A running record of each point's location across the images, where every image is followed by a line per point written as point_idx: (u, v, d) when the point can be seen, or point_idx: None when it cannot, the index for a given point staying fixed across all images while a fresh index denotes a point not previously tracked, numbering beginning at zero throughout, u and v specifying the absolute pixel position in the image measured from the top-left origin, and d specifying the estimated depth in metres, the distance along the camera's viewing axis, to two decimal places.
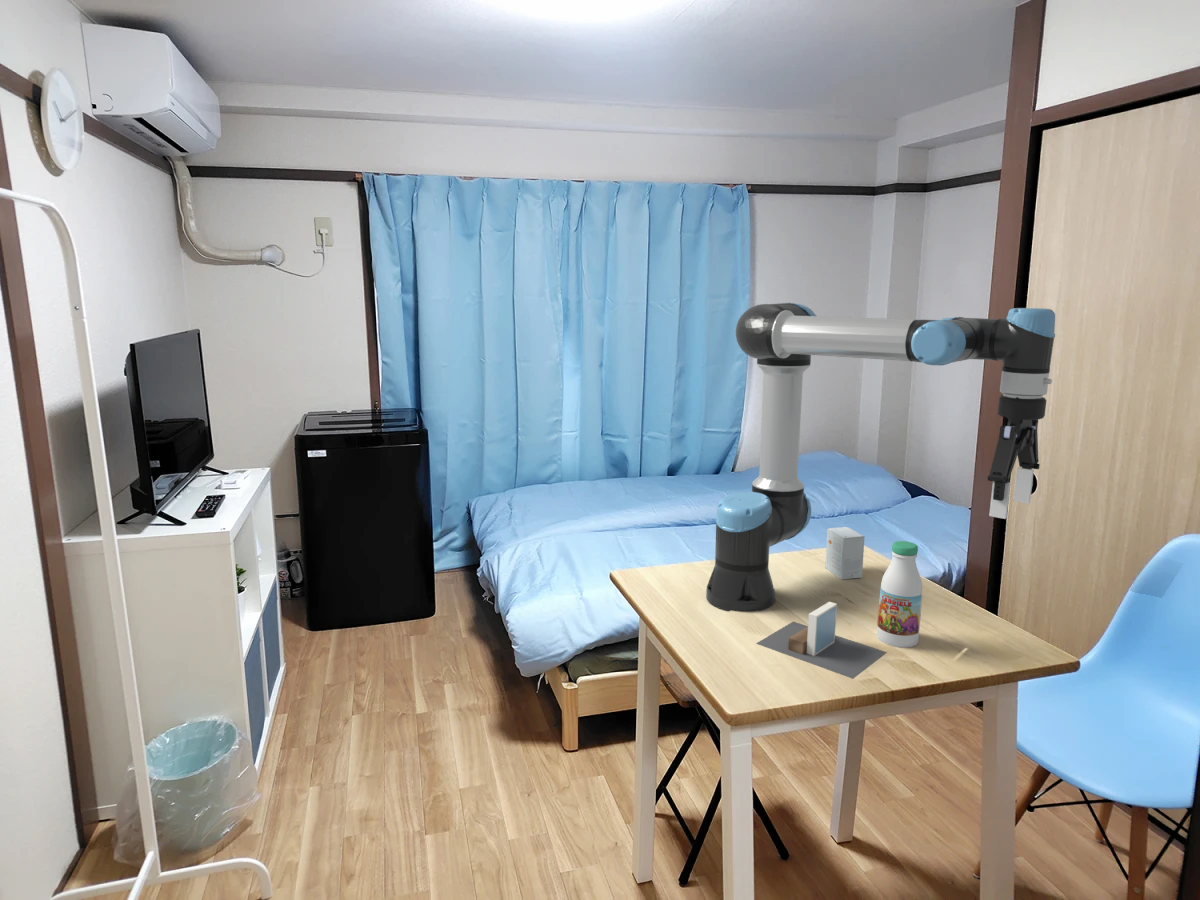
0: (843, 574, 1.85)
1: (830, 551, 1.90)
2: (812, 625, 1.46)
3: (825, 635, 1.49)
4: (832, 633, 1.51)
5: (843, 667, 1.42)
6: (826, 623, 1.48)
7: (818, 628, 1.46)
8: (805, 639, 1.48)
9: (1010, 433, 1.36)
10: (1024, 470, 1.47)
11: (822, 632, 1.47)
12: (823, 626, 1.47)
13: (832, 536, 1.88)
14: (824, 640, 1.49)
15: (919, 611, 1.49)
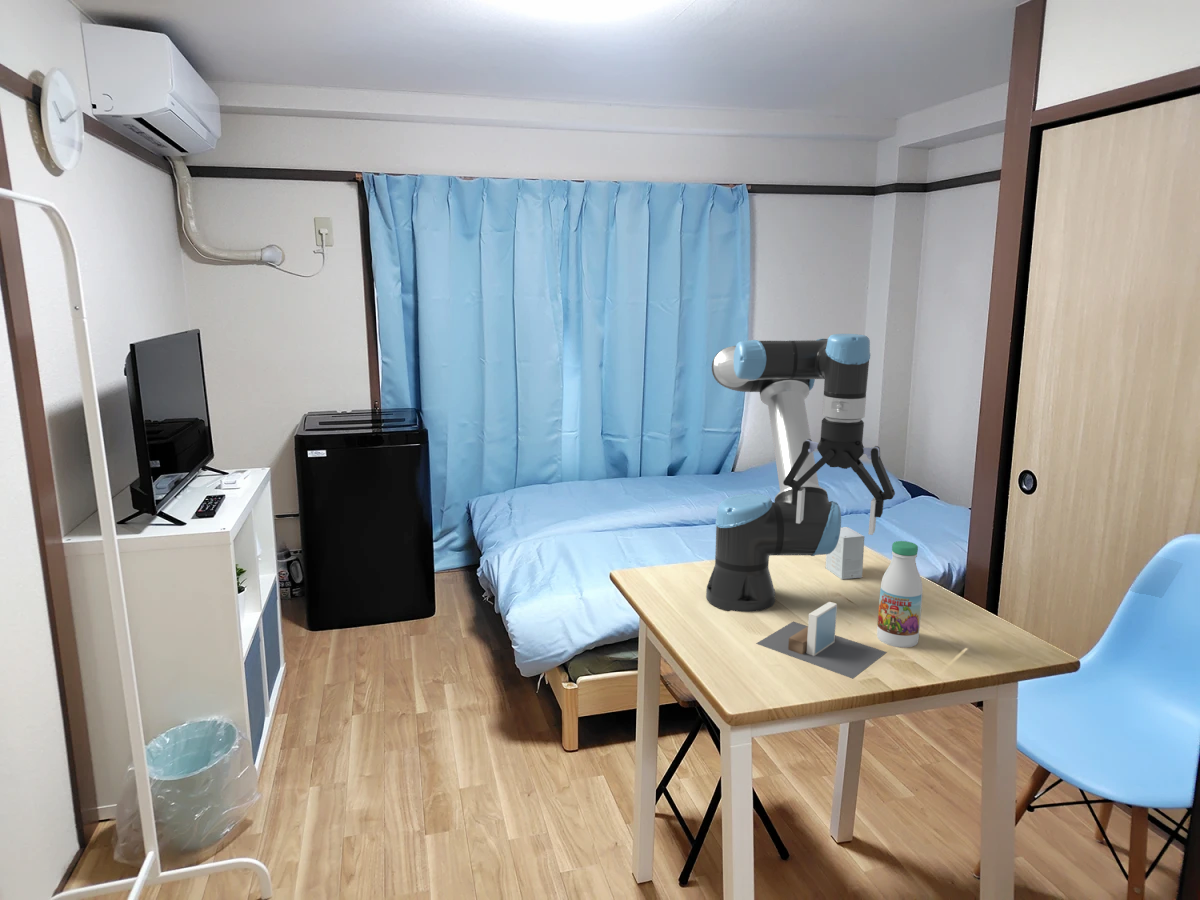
0: (843, 574, 1.85)
1: None
2: (812, 625, 1.46)
3: (825, 635, 1.49)
4: (832, 633, 1.51)
5: (843, 667, 1.42)
6: (826, 623, 1.48)
7: (818, 628, 1.46)
8: (805, 639, 1.48)
9: (803, 446, 1.49)
10: None
11: (822, 632, 1.47)
12: (823, 626, 1.47)
13: None
14: (824, 640, 1.49)
15: (919, 610, 1.49)
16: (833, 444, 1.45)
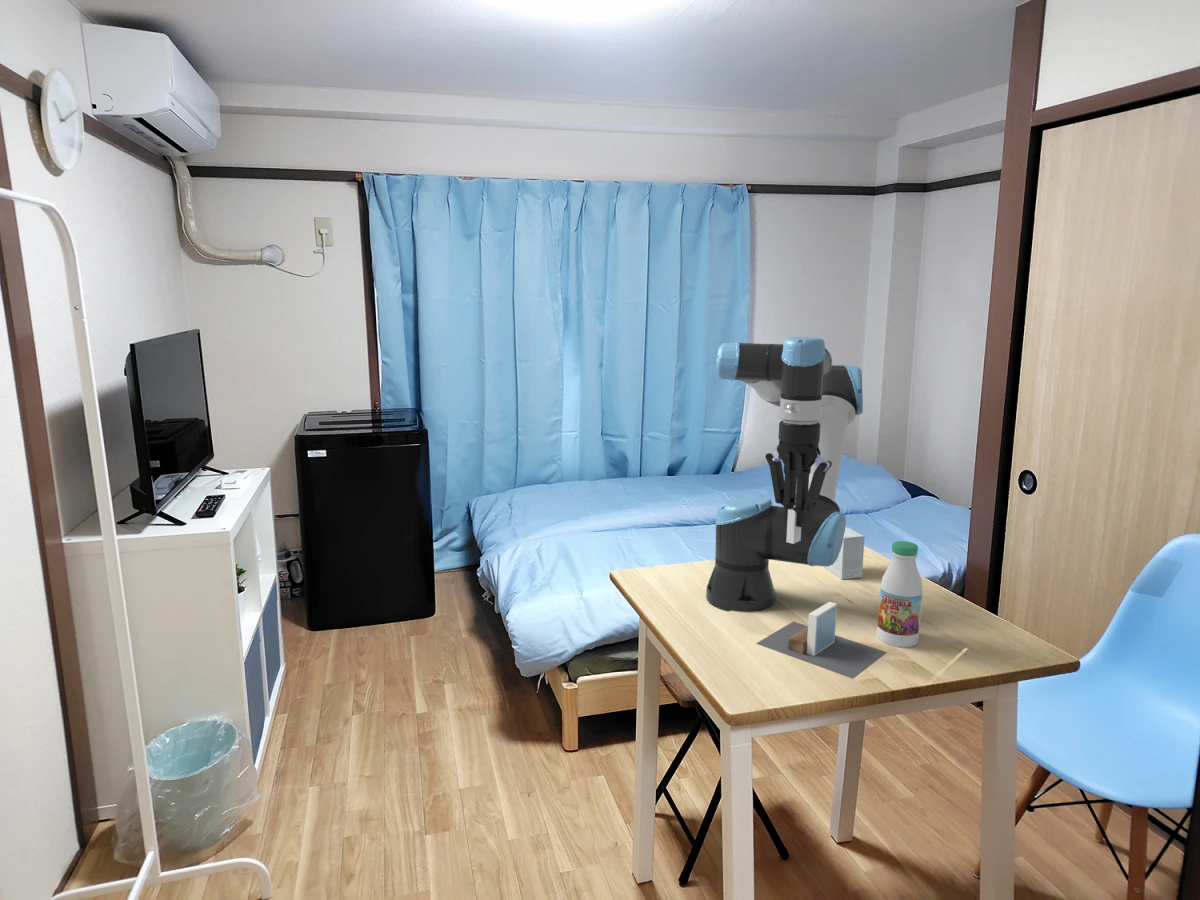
0: (843, 574, 1.85)
1: None
2: (812, 625, 1.46)
3: (825, 635, 1.49)
4: (832, 633, 1.51)
5: (843, 667, 1.42)
6: (826, 623, 1.48)
7: (818, 628, 1.46)
8: (805, 639, 1.48)
9: None
10: None
11: (822, 632, 1.47)
12: (823, 626, 1.47)
13: None
14: (824, 640, 1.49)
15: (919, 611, 1.49)
16: None
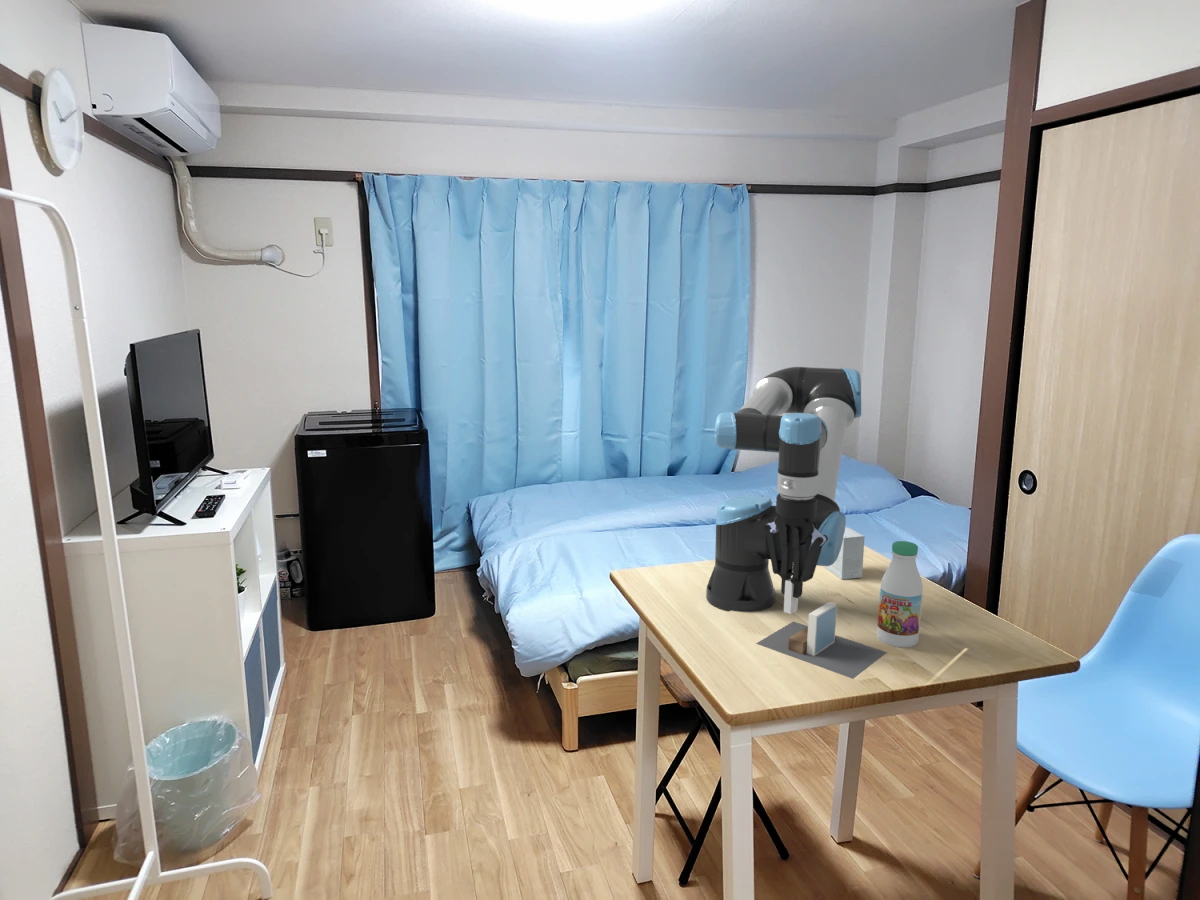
0: (843, 574, 1.85)
1: None
2: (812, 625, 1.46)
3: (825, 635, 1.49)
4: (832, 633, 1.51)
5: (843, 667, 1.42)
6: (826, 623, 1.48)
7: (818, 628, 1.46)
8: (805, 639, 1.48)
9: None
10: None
11: (822, 632, 1.47)
12: (823, 626, 1.47)
13: None
14: (824, 640, 1.49)
15: (919, 611, 1.49)
16: None
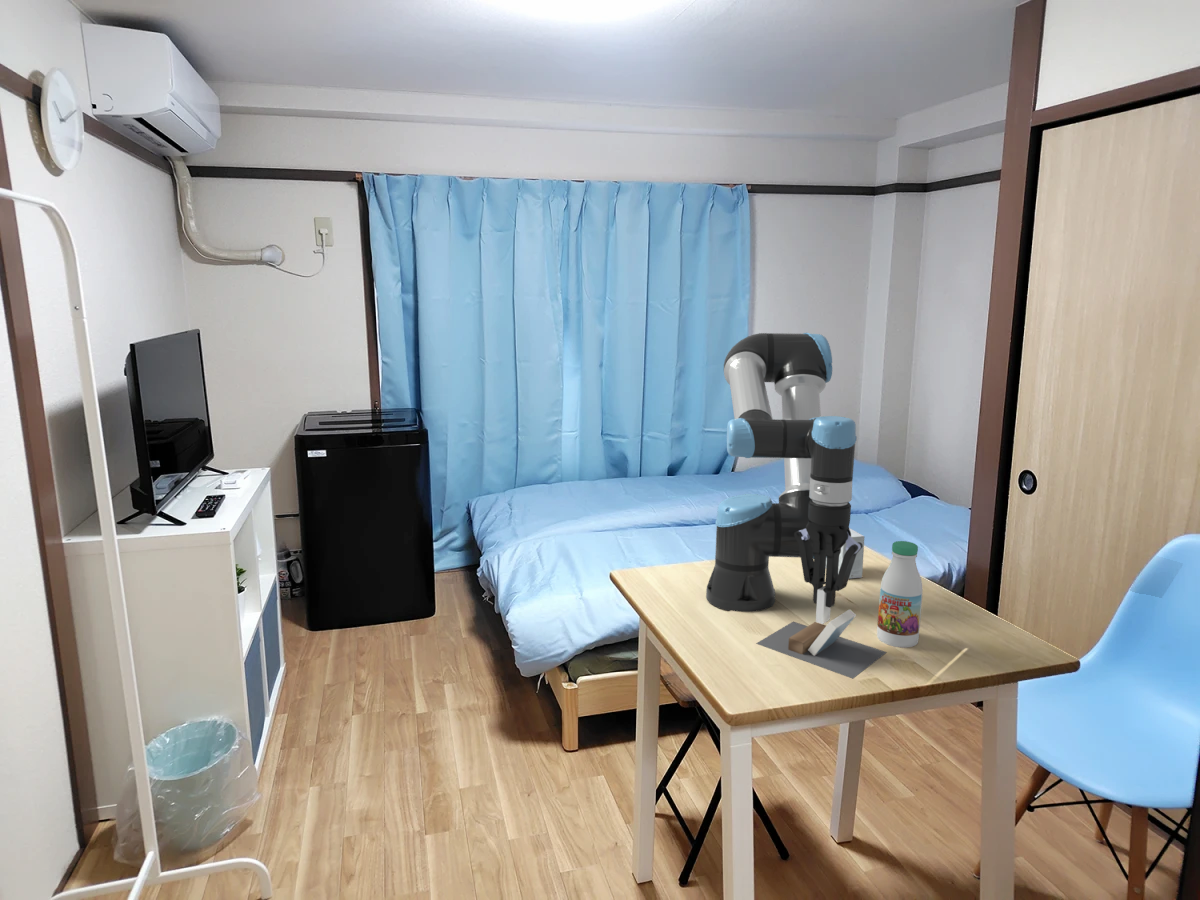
0: None
1: None
2: (827, 632, 1.44)
3: (832, 639, 1.48)
4: (837, 636, 1.50)
5: (843, 667, 1.42)
6: (839, 630, 1.47)
7: (831, 636, 1.44)
8: (805, 639, 1.48)
9: None
10: None
11: (831, 638, 1.46)
12: (835, 633, 1.46)
13: None
14: (828, 643, 1.48)
15: (919, 611, 1.49)
16: None
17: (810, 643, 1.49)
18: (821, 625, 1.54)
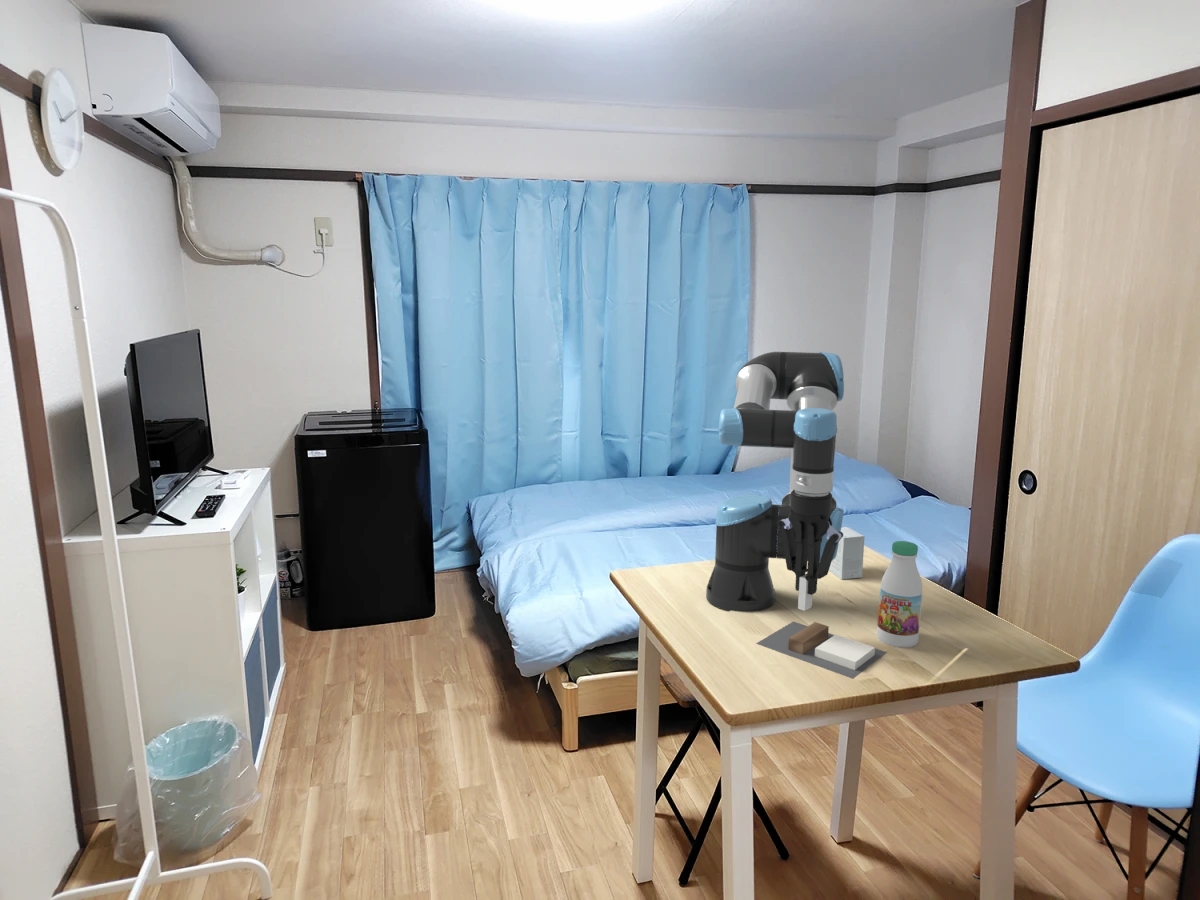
0: (843, 574, 1.85)
1: None
2: (844, 662, 1.42)
3: None
4: None
5: (843, 667, 1.42)
6: None
7: None
8: (805, 639, 1.48)
9: None
10: None
11: None
12: None
13: None
14: None
15: (919, 611, 1.49)
16: None
17: (810, 643, 1.49)
18: (821, 625, 1.54)
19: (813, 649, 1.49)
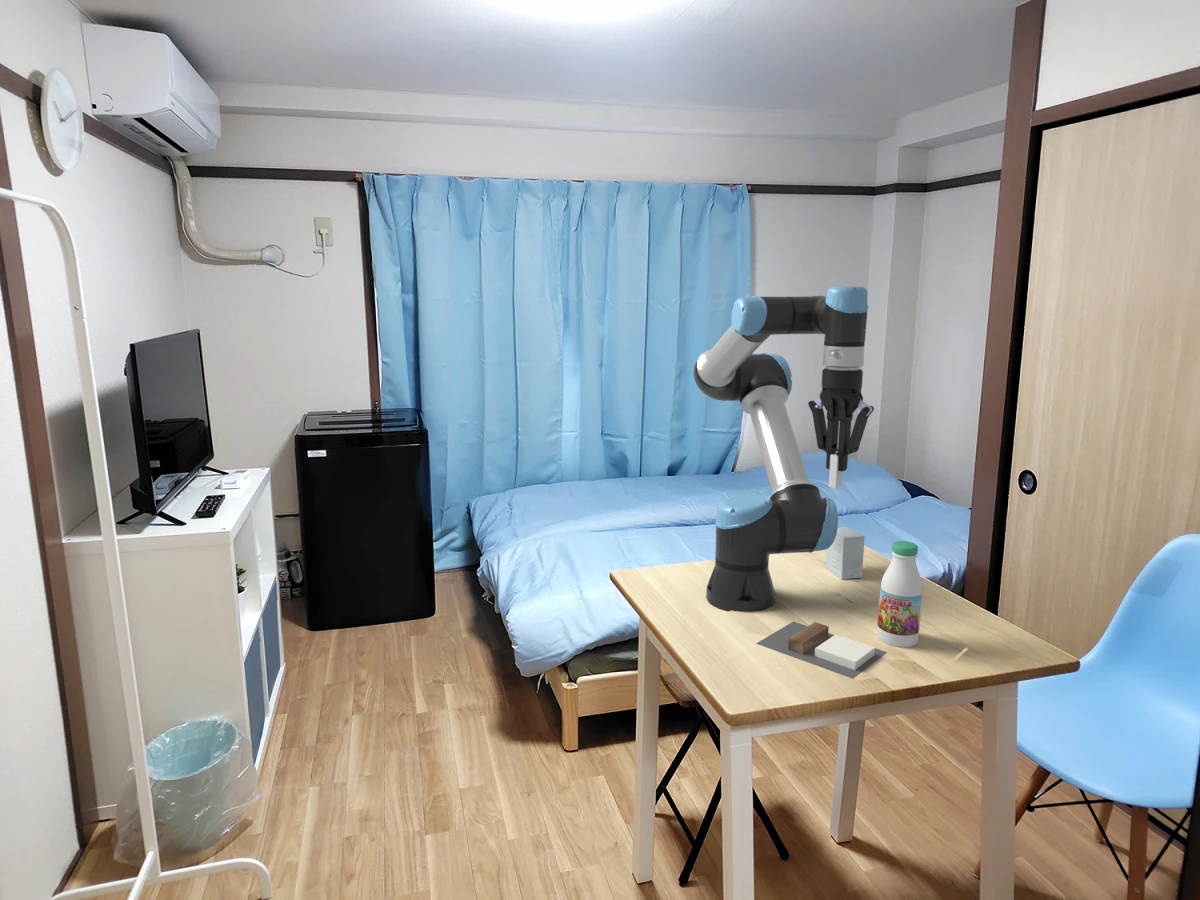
0: (843, 574, 1.85)
1: (830, 551, 1.90)
2: (844, 662, 1.42)
3: None
4: None
5: (843, 667, 1.42)
6: None
7: None
8: (805, 639, 1.48)
9: None
10: None
11: None
12: None
13: None
14: None
15: (919, 611, 1.49)
16: None
17: (810, 643, 1.49)
18: (821, 625, 1.54)
19: (813, 649, 1.49)
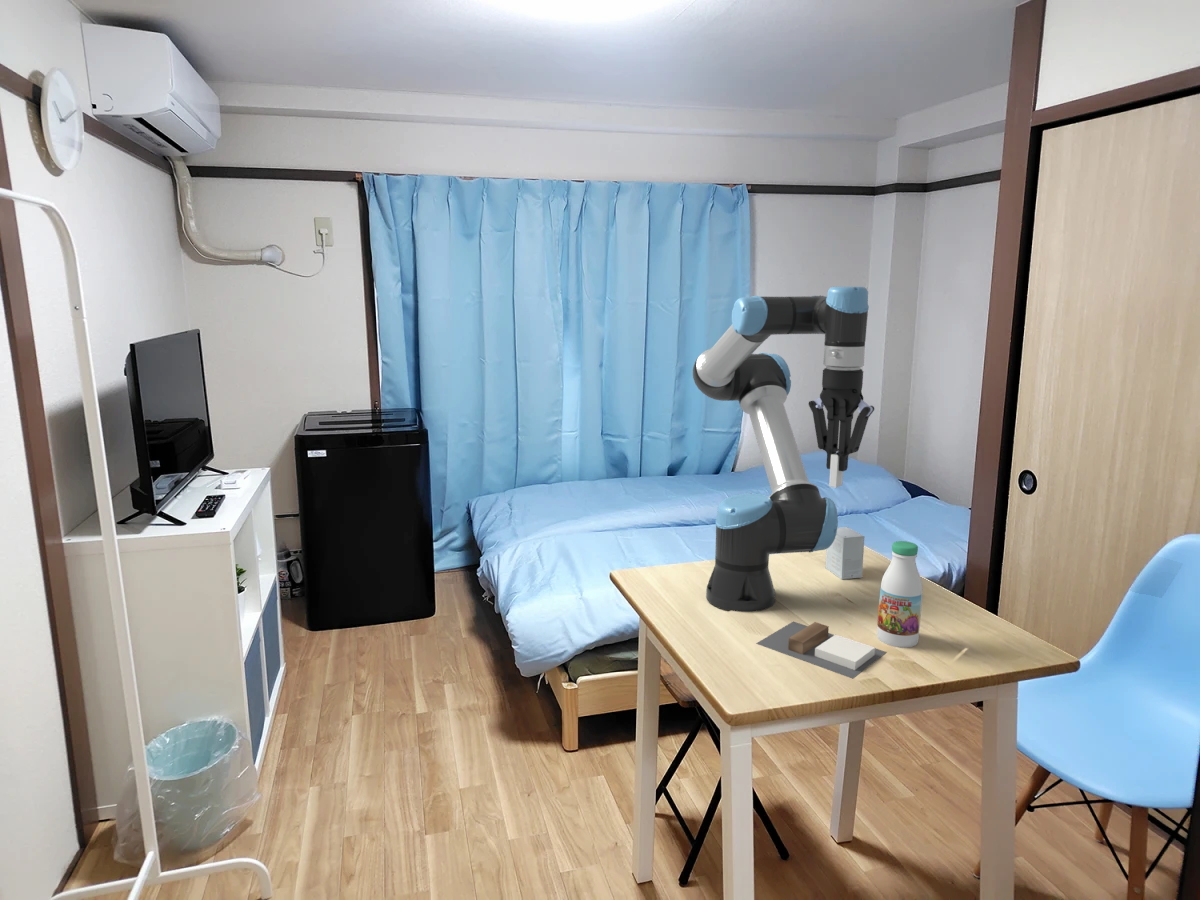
0: (843, 574, 1.85)
1: (830, 551, 1.90)
2: (844, 662, 1.42)
3: None
4: None
5: (843, 667, 1.42)
6: None
7: None
8: (805, 639, 1.48)
9: None
10: None
11: None
12: None
13: None
14: None
15: (919, 611, 1.49)
16: None
17: (810, 643, 1.49)
18: (821, 625, 1.54)
19: (813, 649, 1.49)
